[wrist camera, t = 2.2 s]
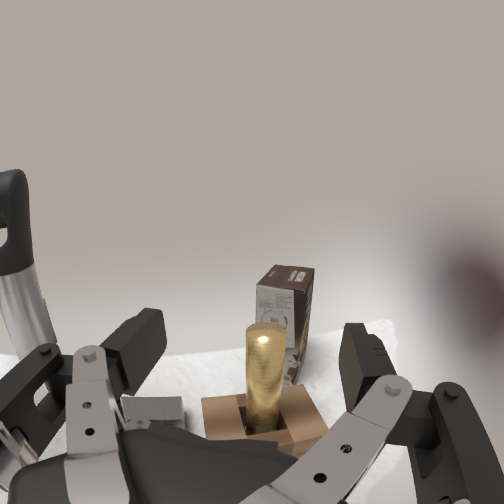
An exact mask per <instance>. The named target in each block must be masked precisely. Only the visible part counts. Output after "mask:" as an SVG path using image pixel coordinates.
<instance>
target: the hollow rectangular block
mask: <svg viewBox="0 0 504 504" xmlns="http://www.w3.org/2000/svg"><path fill="white" fill-rule="evenodd" d="M201 402H202V410H203V418H204V426H205V434H206V439H208V440H233V439H253V440H264V441H278V449H277V450H279V451H282V452H285V453H288V454H291V455H293V456H295V457H297V458H301V457H302V456H303V455H304V454H305V453H306V452H307V451H308V450H309V449H310V448H311V447H312V446H314V445H315V444H316V443H317V442H318V440H319V439H320V438H321V437H322V436H323V435H324V434H325V433H326V432H327V431H328V430H329V429H328V427H327V426H326V424H325V422H324V420H323V419H322V417H321V415H320V413H319V412H318V410H317V408H316V406H315V405H314V403H313V401H312V399H311V398H310V396H309V394H308V392H307V391H306V389H305V387H304V385H303V384H300V385H295V386H290V387H285V388H282V390H281V400H280V409H279V418H278V426H277V429H278V431H273V432H268V433H262V434H256V435H249V436H246V433H245V430H244V426H246V394H238V395H229V396H219V397H208V398H201Z"/></svg>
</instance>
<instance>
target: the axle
mask: <svg viewBox="0 0 504 504" xmlns="http://www.w3.org/2000/svg"><path fill="white" fill-rule="evenodd" d="M286 337H287V331H286V329H285V328H284V327H283V326H281V325H279V324H277V323H273V322H259V323H255V324H252V325H251V326H249V327H248V328H247V329H246V436H249V435H256V434H262V433H268V432H273V431H277V426H278V418H279V409H280V400H281V390H282V381H283V371H284V360H285V349H286Z"/></svg>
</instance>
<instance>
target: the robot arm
mask: <svg viewBox="0 0 504 504" xmlns="http://www.w3.org/2000/svg"><path fill="white" fill-rule="evenodd" d="M1 228H7V229H8V230H7V232H8V237H7V241H6V242H5V244H4V245H3V246H2V247H0V310H1V313H2V316H3V319H4V322H5V325H6V328H7V330H8V333H9V336H10V338H11V341H12V343H13V346H14V349H15V351H16V353H17V356H18V358H19V360H20V362H19V363H18V364H17V365H16V366H15V367H14V368H13V369H11V370H10V371H9V372H8V373H7V374H6V375H5V376H4V377H3V378H2V379H1V380H0V488H1V489H2V490H3V491H5V492H9V493H8V502H7V504H348V503H347V502H346V501H345V500H346V499H347V498H348V497H349V496H350V494H351V493H352V492H353V491H354V489H355V488H356V487H357V485H358V484H359V483H360V481H361V480H362V479H363V477H364V476H365V474H366V473H367V472H368V470H369V469H370V467H371V466H372V465H373V463H374V462H375V460H376V459H377V457H378V456H379V454H380V453H381V451H382V450H383V448H384V447H385V445H386V444H393V445H401V446H407V448H408V452H409V457H410V462H411V467H412V473H413V478H414V484H415V490H416V497H417V504H504V474H503V472H502V469H501V466H500V464H499V461H498V459H497V456H496V453H495V451H494V449H493V446H492V444H491V442H490V439H489V437H488V435H487V433H486V430H485V428H484V426H483V424H482V422H481V420H480V418H479V416H478V413H477V411H476V409H475V407H474V406H473V404H472V402H471V400H470V398H469V396H468V394H467V392H466V391H465V389H464V388H463V387H462V386H460V385H458V384H456V383H453V382H443V383H440V384H438V385H437V386H436V387H435V389H434V391H433V393H430V392H423V391H416V390H413V389H412V385H411V384H410V382H409V381H408V380H406V379H405V378H403V377H401V376H397V374H396V371H395V369H394V367H393V365H392V362H391V360H390V358H389V356H388V353H387V351H386V350H385V347H384V345H383V342H382V341H381V340H380V339H379V338H378V337H377V336H376V335H374V334H368V333H367V331H366V328H365V326H364V324H363V323H346V324H345V326H344V331H343V337H342V342H341V347H340V352H339V370H340V375H341V381H342V386H343V392H344V398H345V404H346V410H347V411H346V412H345V413H344V414H343V415H342V416H341V417H340V418H339V419H338V420H337V421H336V423H335V424H334V425H333V426H332V427H331V428H330V429H329V430H328V431H327V432H326V433H325V434H324V435H323V436H322V437H321V438H320V439H319V440H318V442H317V443H316V444H315V445H314V446H312V447H311V448H310V449H309V450H308V451H307V452H306V453H305V454H304V455H303V456H302V457H301V458H300V459H299V458H297V457H295V456H293V455H291V454H288V453H285V452H282V451H279V450H277V449H278V441H264V440H253V439H233V440H208V439H205V438H202V437H200V436H198V435H195V434H193V433H191V432H188V431H186V430H184V429H182V428H179V427H174V426H170V425H166V424H162V423H158V422H154V421H152V422H151V424H150V426H149V427H148V429H131V430H129V427H128V423H127V420H126V416H125V412H124V407H123V403H122V400H121V395H122V394H127V395H130V396H134V395H135V393H136V392H137V391H138V389H139V388H140V386H141V385H142V383H143V382H144V380H145V379H146V377H147V376H148V375H149V373H150V372H151V370H152V369H153V367H154V366H155V364H156V363H157V362H158V360H159V359H160V357H161V356H162V354H163V353H164V351H165V349H166V345H167V338H166V331H165V325H164V318H163V313H162V311H161V310H159V309H151V308H144V309H143V310H142V311H141V312H140V313H139V314H138V315H137V316H136V317H135V316H134V317H132V318H130V319H128V320H126V321H125V322H124V323H123V324H121V326H119V328H117V329H116V330H115V332H113V333H112V334H111V335H110V336H109V337H108V338H107V339H106V340H105V341H104V342H103V343H102V344H101V345H100V346H95V345H91V346H85V347H83V348H80V349H79V350H77V352H75V354H74V355H73V356H72V355H62V354H61V351H60V349H59V346H58V345H56V343H57V339H56V336H55V333H54V330H53V327H52V323H51V320H50V317H49V313H48V310H47V306H46V302H45V299H43V298H42V295H41V291H40V287H39V283H38V278H37V274H36V269H35V264H34V259H33V250H32V237H31V228H30V211H29V191H28V183H27V179H26V176H25V174H24V172H23V171H22V170H20V169H14V170H9V171H5V172H0V229H1ZM43 383H45V385H46V387H47V389H48V391H49V393H48V394H47V395H46V396H45V397H44V398H43V400H42V401H41V402H40V403H39V404H38V405H37V406H36V405H35V403H34V399H33V398H34V394H35V392H36V391H37V390H38V389H39V388H40V386H41V385H42V384H43ZM65 421H66V436H67V451H68V452H67V453H64V454H61V455H58V456H55V457H52V458H49V459H45V460H42V461H39V462H38V458H39V457H40V456H41V454H42V453H43V451H44V450H45V448H46V447H47V446H48V444H49V443H50V441H51V440H52V439H53V437H54V436H55V434H56V433H57V432H58V430H59V429H60V428H61V426H62V425H63V423H64V422H65Z"/></svg>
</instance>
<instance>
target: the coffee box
mask: <svg viewBox="0 0 504 504" xmlns="http://www.w3.org/2000/svg"><path fill="white" fill-rule="evenodd" d="M313 281H314V269H313V268H306V267H296V266H282V265H274V266H273V267H272V268H271V270H270V271H269V272H268V273H267V274H266V275H265V276H264V277H263V278H262V279H261V280H260V281H259V282H258V283H257V284H256V286H257V289H256V323H259V322H273V323H277V324H279V325H281V326H283V327H284V328H285V329H286V331H287V337H286V349H285V360H284V371H283V381H282V387H283V388H285V387H290V386H294V385H295V383H296V380H297V377H298V375H299V372H300V369H301V366H302V364H303V361H304V358H305V353H306V346H307V338H308V329H309V320H310V312H311V302H312V292H313Z"/></svg>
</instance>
